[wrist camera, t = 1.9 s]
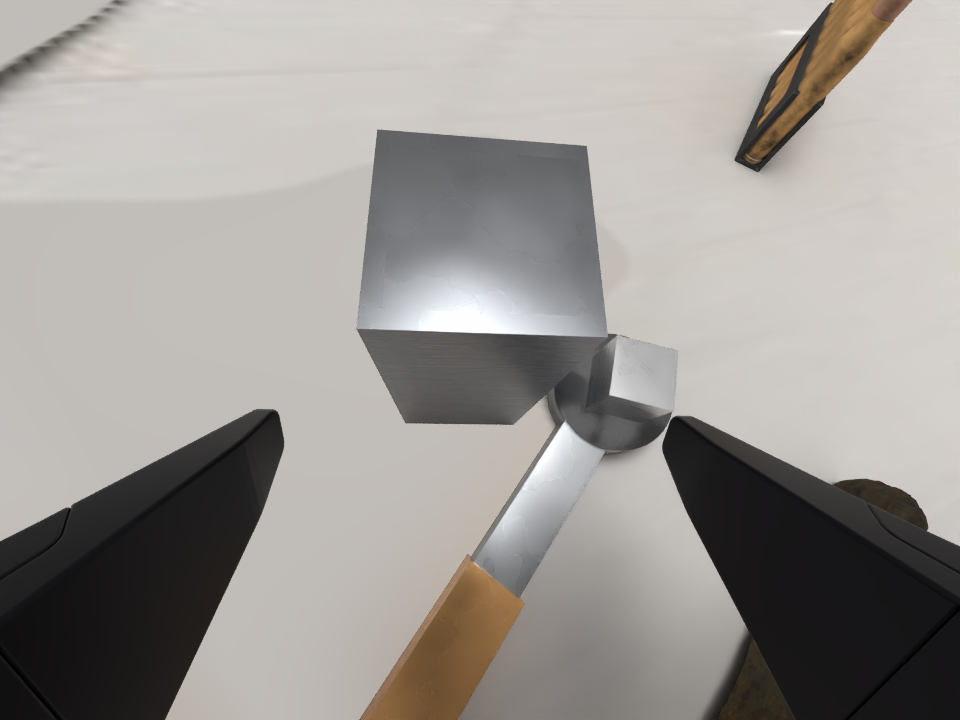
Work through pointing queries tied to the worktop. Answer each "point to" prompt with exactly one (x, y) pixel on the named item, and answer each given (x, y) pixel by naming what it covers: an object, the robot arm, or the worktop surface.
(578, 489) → the ratchet
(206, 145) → the worktop surface
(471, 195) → the grey metal square prism
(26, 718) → the robot arm
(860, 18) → the ammunition clip
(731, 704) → the hand tool
